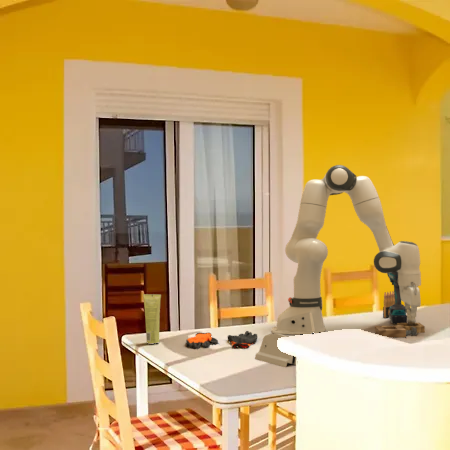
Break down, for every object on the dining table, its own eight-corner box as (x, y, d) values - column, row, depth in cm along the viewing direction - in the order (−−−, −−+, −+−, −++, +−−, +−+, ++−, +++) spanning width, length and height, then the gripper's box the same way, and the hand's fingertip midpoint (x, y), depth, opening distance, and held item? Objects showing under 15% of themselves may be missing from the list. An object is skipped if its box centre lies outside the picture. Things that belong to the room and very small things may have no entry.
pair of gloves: (181, 350, 233) (180, 341, 233) (193, 337, 257) (193, 329, 257) (254, 349, 229) (253, 340, 229) (259, 337, 253) (259, 328, 253)
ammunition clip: (386, 318, 285) (385, 292, 285) (383, 318, 287) (382, 292, 287) (401, 315, 291) (401, 290, 291) (398, 315, 293) (397, 290, 293)
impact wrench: (401, 317, 285) (400, 263, 285) (411, 326, 263) (410, 267, 262) (384, 318, 286) (383, 263, 285) (392, 326, 263) (391, 267, 263)
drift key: (394, 335, 243) (394, 328, 243) (392, 334, 247) (392, 327, 247) (416, 335, 242) (416, 328, 242) (414, 333, 246) (414, 326, 246)
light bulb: (409, 331, 251) (408, 309, 252) (406, 330, 255) (405, 308, 255) (417, 331, 252) (416, 308, 252) (414, 329, 255) (413, 307, 255)
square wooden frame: (401, 333, 249) (401, 326, 249) (397, 329, 258) (396, 323, 258) (424, 332, 248) (424, 326, 248) (419, 328, 257) (419, 322, 257)
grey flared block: (254, 358, 213) (260, 329, 214) (264, 361, 215) (271, 332, 217) (285, 367, 199) (292, 336, 201) (296, 369, 201) (303, 339, 203)
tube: (158, 341, 248) (156, 293, 248) (162, 344, 244) (160, 294, 244) (144, 343, 246) (143, 294, 246) (148, 345, 241) (147, 295, 241)
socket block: (379, 338, 240) (379, 330, 240) (375, 333, 250) (374, 326, 250) (406, 337, 240) (405, 329, 240) (400, 332, 250) (400, 325, 249)
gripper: (423, 283, 242) (425, 318, 243) (411, 278, 263) (413, 311, 263) (407, 284, 243) (408, 319, 243) (396, 278, 263) (397, 311, 263)
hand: (410, 315), depth 253 cm, fingers open, 8 cm apart
